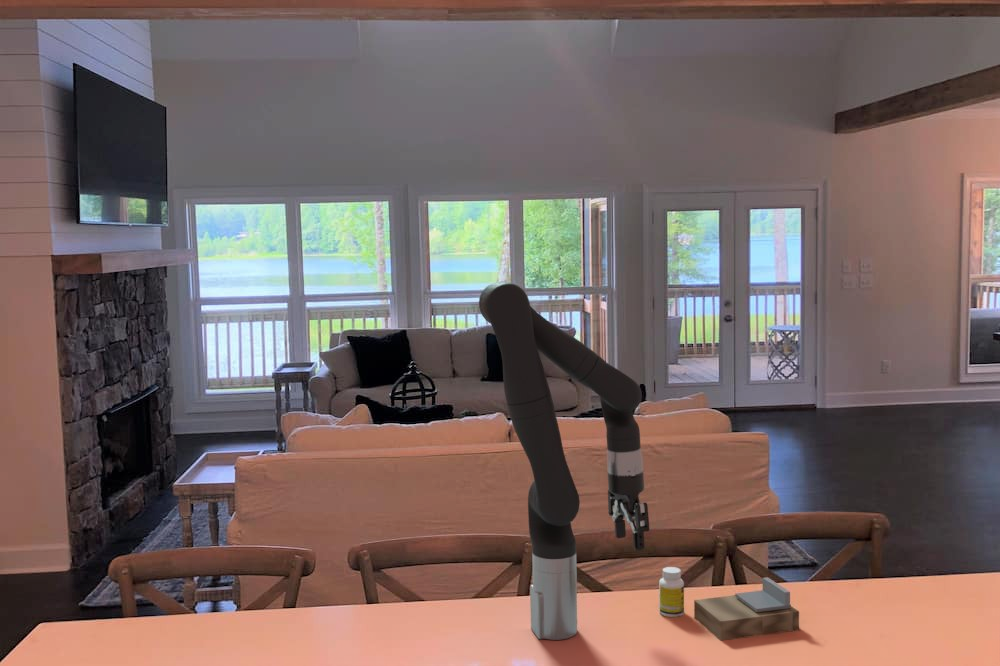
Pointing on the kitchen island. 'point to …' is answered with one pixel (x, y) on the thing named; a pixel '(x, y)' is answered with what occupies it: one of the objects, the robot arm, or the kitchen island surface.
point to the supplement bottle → (671, 593)
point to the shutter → (766, 597)
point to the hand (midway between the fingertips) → (629, 543)
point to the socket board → (742, 618)
